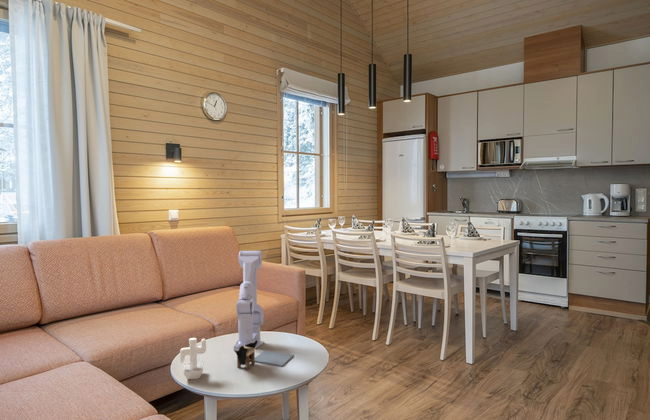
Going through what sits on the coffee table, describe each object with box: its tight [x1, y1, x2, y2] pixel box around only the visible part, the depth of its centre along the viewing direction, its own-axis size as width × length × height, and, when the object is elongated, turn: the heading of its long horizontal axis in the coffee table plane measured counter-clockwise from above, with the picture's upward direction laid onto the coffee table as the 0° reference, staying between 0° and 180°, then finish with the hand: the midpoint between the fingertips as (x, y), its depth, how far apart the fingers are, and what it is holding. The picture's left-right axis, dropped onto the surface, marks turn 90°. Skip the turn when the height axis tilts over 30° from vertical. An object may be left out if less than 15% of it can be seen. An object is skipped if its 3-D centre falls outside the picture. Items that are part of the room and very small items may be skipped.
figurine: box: [179, 337, 207, 380], centre depth 160 cm, size 7×9×15 cm
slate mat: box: [255, 349, 295, 368], centre depth 176 cm, size 14×11×1 cm
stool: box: [236, 346, 256, 370], centre depth 169 cm, size 5×5×7 cm
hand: (246, 361), depth 169 cm, fingers closed on stool, 5 cm apart
